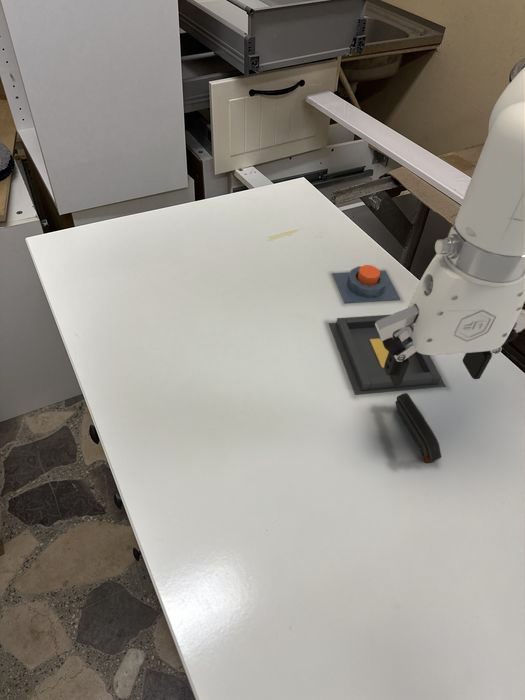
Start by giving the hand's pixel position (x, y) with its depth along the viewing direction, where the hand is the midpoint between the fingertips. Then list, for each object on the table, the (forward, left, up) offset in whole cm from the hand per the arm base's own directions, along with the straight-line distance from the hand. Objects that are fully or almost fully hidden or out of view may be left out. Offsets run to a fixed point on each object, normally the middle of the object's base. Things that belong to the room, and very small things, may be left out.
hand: (431, 373), depth 60 cm
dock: (-3, -15, -14) cm, 21 cm away
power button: (-5, -31, -11) cm, 34 cm away
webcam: (-1, 0, -14) cm, 14 cm away
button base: (-5, -31, -14) cm, 35 cm away
